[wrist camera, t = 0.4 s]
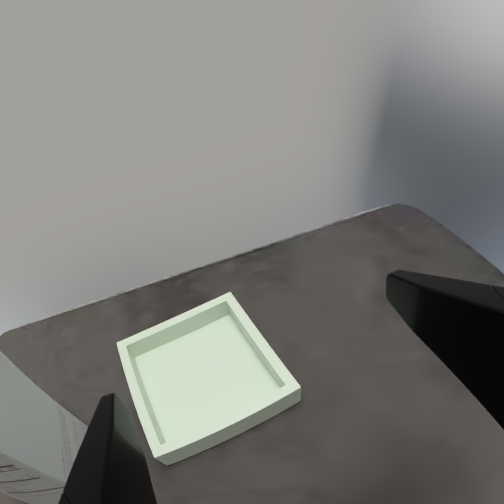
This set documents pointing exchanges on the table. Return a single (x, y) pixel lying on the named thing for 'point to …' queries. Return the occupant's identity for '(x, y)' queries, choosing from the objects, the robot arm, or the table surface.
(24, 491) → the supplement box
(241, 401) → the dock tray
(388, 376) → the table surface
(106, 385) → the table surface
